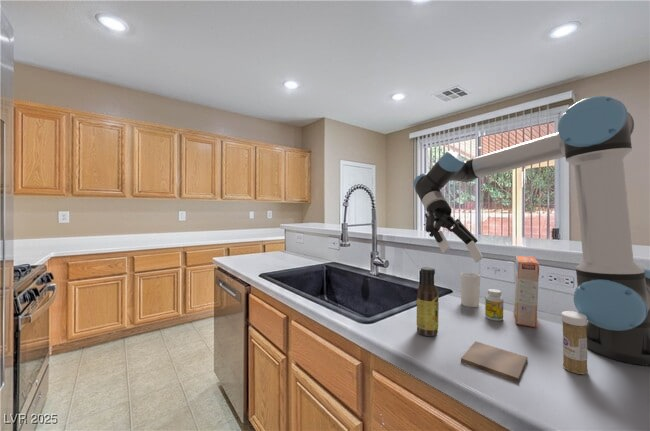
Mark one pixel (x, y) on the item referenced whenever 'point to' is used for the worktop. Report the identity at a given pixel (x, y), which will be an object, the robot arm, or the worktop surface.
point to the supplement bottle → (494, 305)
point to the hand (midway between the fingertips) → (463, 255)
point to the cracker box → (526, 291)
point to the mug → (470, 289)
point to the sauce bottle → (427, 304)
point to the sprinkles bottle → (574, 342)
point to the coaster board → (495, 361)
